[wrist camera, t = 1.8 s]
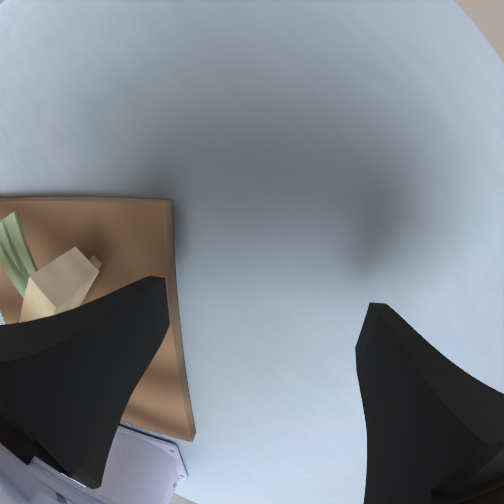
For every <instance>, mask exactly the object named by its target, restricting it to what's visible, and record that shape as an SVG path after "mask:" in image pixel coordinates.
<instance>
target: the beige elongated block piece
mask: <svg viewBox="0 0 504 504" xmlns="http://www.w3.org/2000/svg"><path fill="white" fill-rule="evenodd" d="M98 273H99V271H98V270H97V269H96V268H95V267H94V266H93V265H92V263H91V262H90V261H89V260H88V259H87V258H86V257H85V256H84V255H83V254H82V253H81V252H80V251H79V250H78V249H77V248H76V246H75V247H74V248H72V249H70V250H69V251H67V252H66V253H64V254H63V255H61V256H59V257H58V258H56V259H55V260H53V261H52V262H50V263H49V264H47V265H46V266H44V267H43V268H41V269H40V270H38V271H37V272H35V273H34V274H32V275H31V276H30V277H29V279H28V283H27V287H26V292H25V296H24V300H23V305H22V310H21V315H20V319H19V320H18V321H17V322H16V323H20V322H26V321H31V320H35V319H39V318H43V317H48V316H52V315H55V314H58V313H61V312H64V311H68V310H70V309H73V308H76V307H79V306H80V305H81V303H82V301H83V299H84V298H85V296H86V294H87V292H88V290H89V289H90V287H91V285H92V283H93V282H94V280H95V278H96V276H97V275H98Z"/></svg>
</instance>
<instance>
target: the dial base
mask: <svg viewBox="0 0 504 504" xmlns="http://www.w3.org/2000/svg"><path fill="white" fill-rule="evenodd" d="M75 246H76V248H77V249H78V250H79V251H80V252H81V253H82V254H83V255H84V256H85V257H86V258H87V259H88V260H89V261H90V262H91V263H92V265H93V266H94V267H95V268H96V269H97V270H98V271H99V273H98V275H97V276H96V278H95V280H94V282H93V283H92V285H91V287H90V289H89V290H88V292H87V294H86V296H85V298H84V299H83V301H82V303H81V305H84V304H86V303H88V302H91V301H93V300H95V299H98V298H100V297H102V296H105V295H107V294H109V293H111V292H113V291H115V290H118V289H120V288H122V287H124V286H126V285H128V284H131V283H133V282H135V281H137V280H140V279H142V278H145V277H148V276H156V277H162V278H165V281H166V291H167V301H168V309H169V318H170V325H169V328H168V330H167V333H166V335H165V337H164V340H163V342H162V344H161V346H160V348H159V350H158V351H157V353H156V355H155V356H154V358H153V360H152V361H151V363H150V364H149V366H148V368H147V369H146V371H145V373H144V374H143V376H142V378H141V379H140V381H139V383H138V384H137V386H136V388H135V389H134V391H133V393H132V395H131V397H130V399H129V401H128V403H127V406H126V408H125V410H124V413H123V415H122V418H121V420H122V421H125V422H127V423H130V424H133V425H136V426H139V427H142V428H145V429H148V430H151V431H154V432H157V433H160V434H164V435H167V436H170V437H174V438H178V439H181V440H185V441H189V442H193V439H194V437H195V434H196V431H195V425H194V420H193V414H192V409H191V403H190V396H189V390H188V383H187V377H186V370H185V362H184V355H183V346H182V338H181V329H180V319H179V309H178V298H177V286H176V272H175V256H174V236H173V205H172V200H163V199H143V198H116V197H0V311H1V313H2V316H3V318H4V321H5V323H6V324H14V323H16V322H17V321H18V320H19V319H20V315H21V310H22V305H23V300H24V296H25V292H26V287H27V283H28V279H29V277H30V276H31V275H32V274H34V273H35V272H37V271H38V270H40V269H41V268H43V267H44V266H46V265H47V264H49V263H50V262H52V261H53V260H55V259H56V258H58V257H59V256H61V255H63V254H64V253H66V252H67V251H69V250H70V249H72V248H74V247H75ZM81 305H80V306H81Z"/></svg>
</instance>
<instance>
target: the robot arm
mask: <svg viewBox="0 0 504 504" xmlns="http://www.w3.org/2000/svg"><path fill="white" fill-rule="evenodd" d="M169 325H170V318H169V309H168V301H167V291H166V281H165V278H162V277H156V276H148V277H145V278H142V279H140V280H137V281H135V282H133V283H131V284H128V285H126V286H124V287H122V288H120V289H118V290H115V291H113V292H111V293H109V294H107V295H105V296H102V297H100V298H98V299H95V300H93V301H91V302H88V303H86V304H84V305H81V306H79V307H76V308H73V309H70V310H68V311H64V312H61V313H58V314H55V315H52V316H48V317H43V318H39V319H35V320H31V321H26V322H20V323H14V324H5V325H0V504H170V502H171V499H172V497H173V494H174V491H175V488H176V485H177V483H178V480H179V479H182V480H188V476H187V473H186V470H185V468H184V465H183V462H182V459H181V457H180V454H179V451H178V448H177V446H176V445H174V444H172V443H169V442H165V441H162V440H159V439H156V438H152V437H149V436H146V435H143V434H140V433H138V432H135V431H132V430H129V429H127V428H124V427H121V426H119V423H120V420H121V418H122V415H123V413H124V410H125V408H126V406H127V403H128V401H129V399H130V397H131V395H132V393H133V391H134V389H135V388H136V386H137V384H138V383H139V381H140V379H141V378H142V376H143V374H144V373H145V371H146V369H147V368H148V366H149V364H150V363H151V361H152V360H153V358H154V356H155V355H156V353H157V351H158V350H159V348H160V346H161V344H162V342H163V340H164V337H165V335H166V333H167V330H168V328H169ZM355 350H356V367H357V376H358V381H359V387H360V392H361V397H362V403H363V409H364V415H365V421H366V429H367V474H366V487H365V496H364V504H504V394H503V393H501V392H499V391H497V390H495V389H493V388H491V387H489V386H487V385H486V384H484V383H482V382H481V381H479V380H477V379H476V378H474V377H472V376H471V375H469V374H468V373H466V372H465V371H464V370H462V369H461V368H459V367H458V366H457V365H455V364H454V363H453V362H451V361H450V360H449V359H447V358H446V357H445V356H444V355H442V354H441V353H440V352H439V351H438V350H437V349H435V348H434V347H433V346H432V345H431V344H430V343H429V342H427V341H426V340H425V339H424V338H423V337H422V336H421V335H420V334H419V333H418V332H417V331H416V330H414V329H413V328H412V327H411V326H410V325H409V324H408V323H407V322H406V321H405V320H404V319H403V318H402V317H401V316H400V315H399V314H398V313H396V312H395V311H394V310H393V309H392V308H391V307H390V306H388V305H387V304H384V303H371V302H370V304H369V307H368V310H367V314H366V317H365V320H364V323H363V326H362V329H361V332H360V335H359V338H358V341H357V344H356V347H355ZM61 473H63V474H64V475H63V474H61ZM65 475H66V476H68V477H69V478H68V477H66V476H65ZM70 478H72V479H74V480H76V481H77V482H79V483H81V484H83V485H85V486H86V487H84V486H82V485H80V484H78V483H76V482H75V481H73V480H71V479H70Z"/></svg>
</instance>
